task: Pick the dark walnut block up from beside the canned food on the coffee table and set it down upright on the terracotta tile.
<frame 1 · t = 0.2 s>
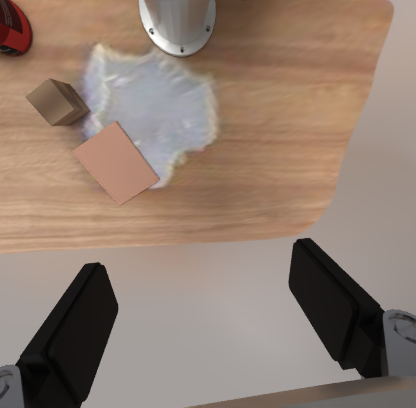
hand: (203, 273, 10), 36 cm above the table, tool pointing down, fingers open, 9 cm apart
canned food: (7, 28, 33), on the table
walnut block: (70, 105, 37), on the table
terracotta tile: (118, 165, 43), on the table
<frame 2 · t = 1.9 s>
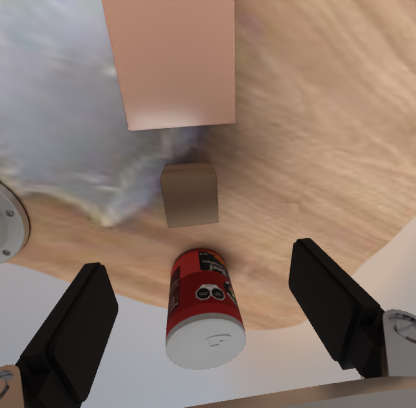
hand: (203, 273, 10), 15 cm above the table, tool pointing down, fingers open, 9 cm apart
canned food: (198, 267, 29), on the table
walnut block: (189, 183, 24), on the table
terracotta tile: (174, 47, 19), on the table
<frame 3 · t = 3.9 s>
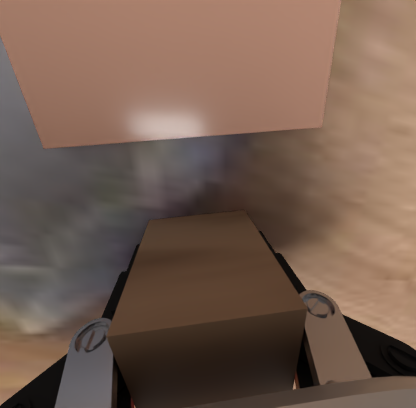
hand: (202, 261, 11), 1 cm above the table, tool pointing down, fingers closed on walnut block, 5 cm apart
walnut block: (201, 253, 11), on the table, touching gripper
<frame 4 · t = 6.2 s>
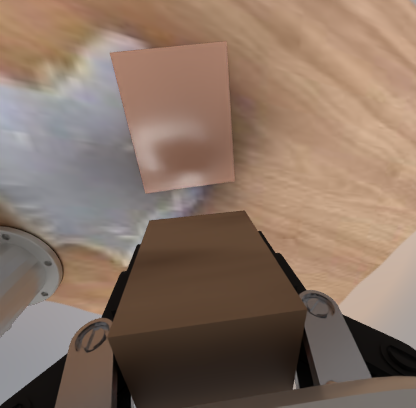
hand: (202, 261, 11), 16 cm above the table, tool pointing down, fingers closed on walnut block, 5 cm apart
walnut block: (201, 254, 11), point 15 cm above the table, touching gripper
terracotta tile: (181, 125, 22), on the table
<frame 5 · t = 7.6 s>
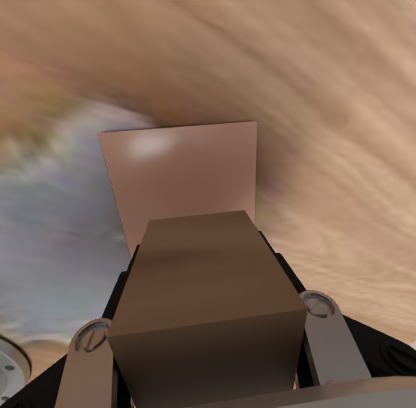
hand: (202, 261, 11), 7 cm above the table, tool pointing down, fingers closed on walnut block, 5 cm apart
walnut block: (201, 253, 11), point 6 cm above the table, touching gripper
terracotta tile: (189, 212, 17), on the table
when the fingers open (3 cm above the table, at t = 8.7 s): walnut block drops 1 cm, resting on terracotta tile.
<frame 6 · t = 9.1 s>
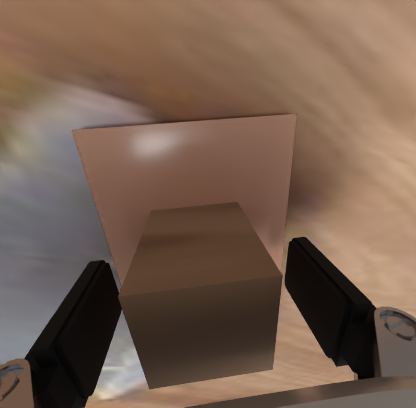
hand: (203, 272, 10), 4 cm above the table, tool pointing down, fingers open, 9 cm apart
walnut block: (198, 242, 12), point 1 cm above the table, touching terracotta tile
terracotta tile: (199, 233, 13), on the table
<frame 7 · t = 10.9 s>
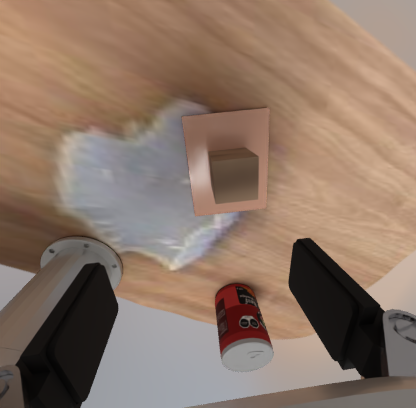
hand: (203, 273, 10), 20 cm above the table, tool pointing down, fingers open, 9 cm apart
canned food: (234, 295, 40), on the table
walnut block: (227, 167, 28), point 1 cm above the table, touching terracotta tile
terracotta tile: (227, 165, 28), on the table
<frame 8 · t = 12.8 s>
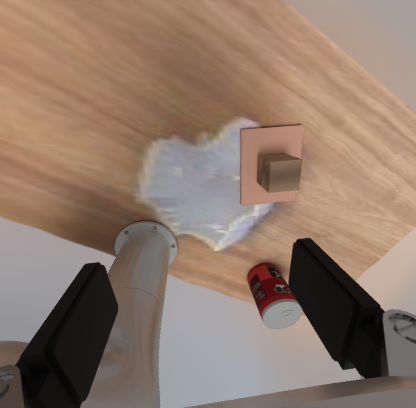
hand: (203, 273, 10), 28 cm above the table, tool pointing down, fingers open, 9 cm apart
canned food: (262, 274, 48), on the table
walnut block: (270, 168, 37), point 1 cm above the table, touching terracotta tile
terracotta tile: (268, 166, 38), on the table
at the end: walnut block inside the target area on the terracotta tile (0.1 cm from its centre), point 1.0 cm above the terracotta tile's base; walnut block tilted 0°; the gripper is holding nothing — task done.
